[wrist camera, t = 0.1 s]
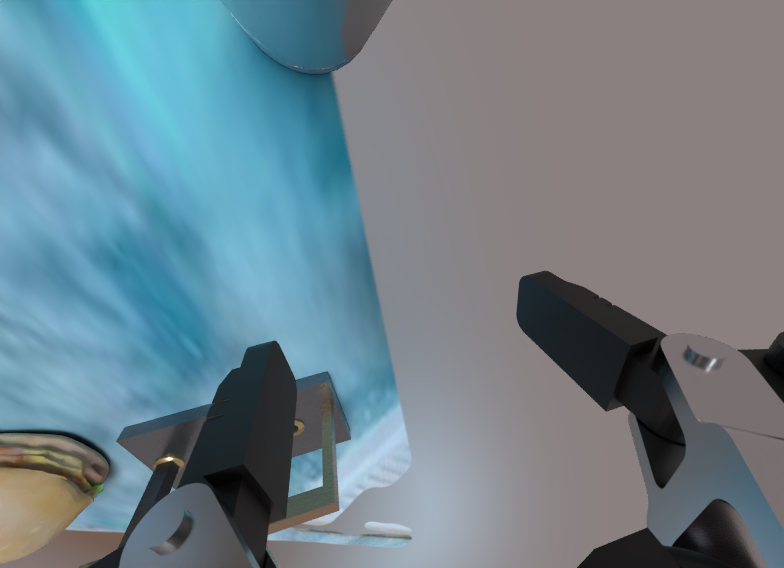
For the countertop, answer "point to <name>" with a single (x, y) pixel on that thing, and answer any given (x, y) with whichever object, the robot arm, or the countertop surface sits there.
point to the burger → (43, 488)
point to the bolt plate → (180, 432)
